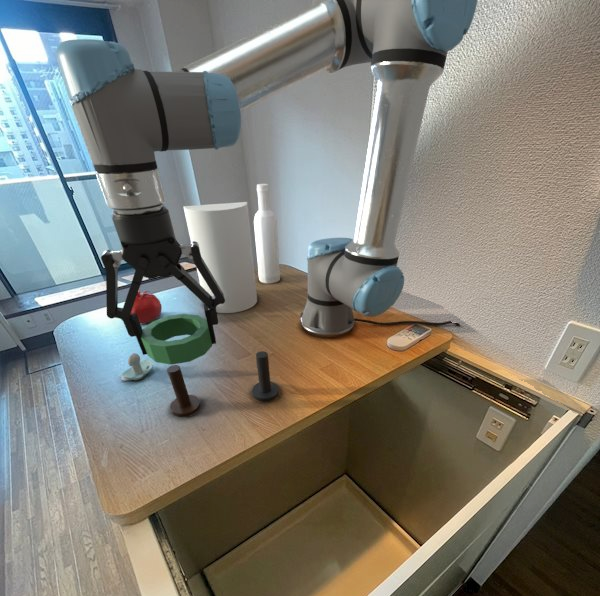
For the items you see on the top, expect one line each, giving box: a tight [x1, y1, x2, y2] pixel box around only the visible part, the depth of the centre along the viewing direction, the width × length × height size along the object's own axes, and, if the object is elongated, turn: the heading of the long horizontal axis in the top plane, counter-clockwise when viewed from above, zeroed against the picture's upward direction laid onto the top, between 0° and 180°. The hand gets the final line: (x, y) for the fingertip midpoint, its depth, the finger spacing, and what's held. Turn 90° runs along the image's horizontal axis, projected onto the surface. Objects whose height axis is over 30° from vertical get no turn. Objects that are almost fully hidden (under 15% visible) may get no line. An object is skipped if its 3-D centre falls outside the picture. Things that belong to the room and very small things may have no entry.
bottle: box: [253, 183, 281, 284], centre depth 112 cm, size 8×8×30 cm
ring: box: [141, 313, 213, 365], centre depth 58 cm, size 11×11×4 cm
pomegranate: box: [131, 290, 163, 325], centre depth 96 cm, size 10×10×9 cm
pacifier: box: [121, 352, 154, 382], centre depth 75 cm, size 7×6×6 cm
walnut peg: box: [166, 364, 202, 418], centre depth 65 cm, size 6×6×10 cm
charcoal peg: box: [251, 350, 280, 403], centre depth 68 cm, size 6×6×10 cm
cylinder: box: [183, 201, 258, 314], centre depth 98 cm, size 17×17×28 cm
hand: (180, 345), depth 59 cm, fingers closed on ring, 11 cm apart
